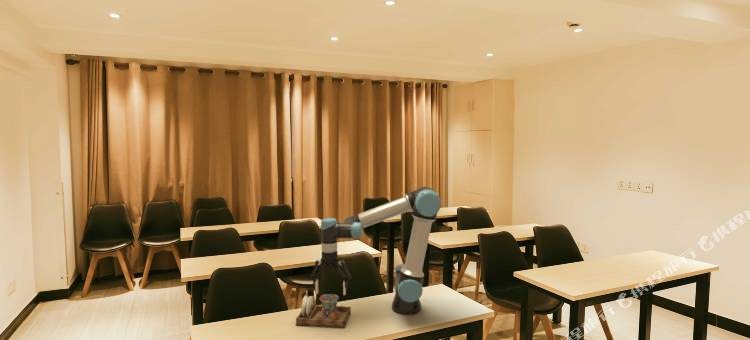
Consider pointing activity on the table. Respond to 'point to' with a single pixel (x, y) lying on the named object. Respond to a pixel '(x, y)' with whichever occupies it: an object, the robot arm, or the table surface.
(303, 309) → the plates
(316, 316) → the rack
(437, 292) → the table surface
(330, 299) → the mug
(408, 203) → the robot arm
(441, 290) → the table surface
